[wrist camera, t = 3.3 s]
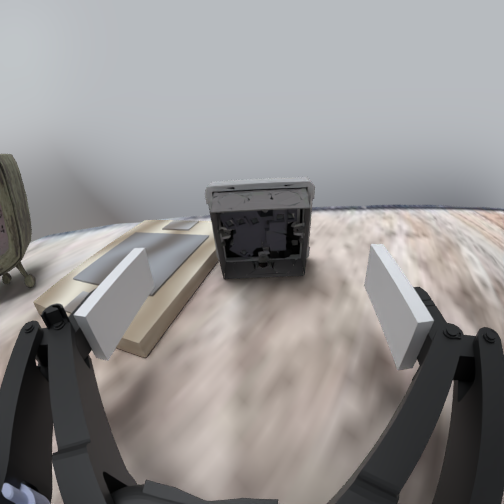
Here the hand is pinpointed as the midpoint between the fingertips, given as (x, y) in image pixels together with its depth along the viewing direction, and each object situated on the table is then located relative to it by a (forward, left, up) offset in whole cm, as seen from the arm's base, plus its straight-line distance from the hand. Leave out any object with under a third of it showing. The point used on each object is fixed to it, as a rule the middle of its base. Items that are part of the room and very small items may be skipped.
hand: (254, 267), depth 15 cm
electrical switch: (+2, -9, -6) cm, 11 cm away
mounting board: (+15, -7, -6) cm, 17 cm away
